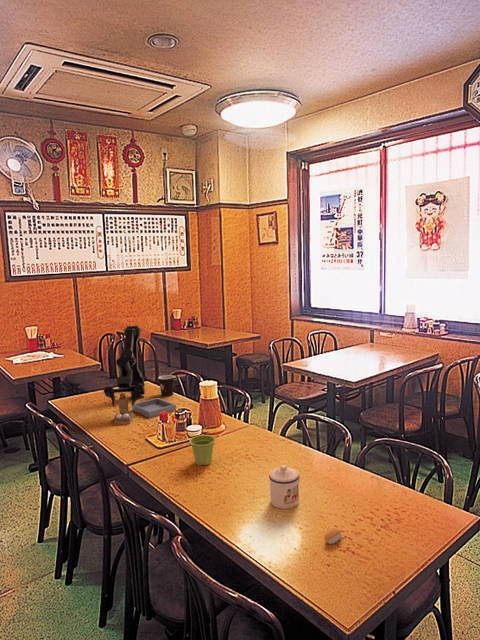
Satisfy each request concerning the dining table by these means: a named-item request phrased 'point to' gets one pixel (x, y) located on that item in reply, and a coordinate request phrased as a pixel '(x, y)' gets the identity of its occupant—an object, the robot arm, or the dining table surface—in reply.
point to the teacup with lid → (284, 487)
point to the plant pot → (202, 449)
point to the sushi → (332, 536)
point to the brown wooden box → (123, 411)
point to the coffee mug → (167, 385)
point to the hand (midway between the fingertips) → (123, 406)
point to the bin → (153, 407)
